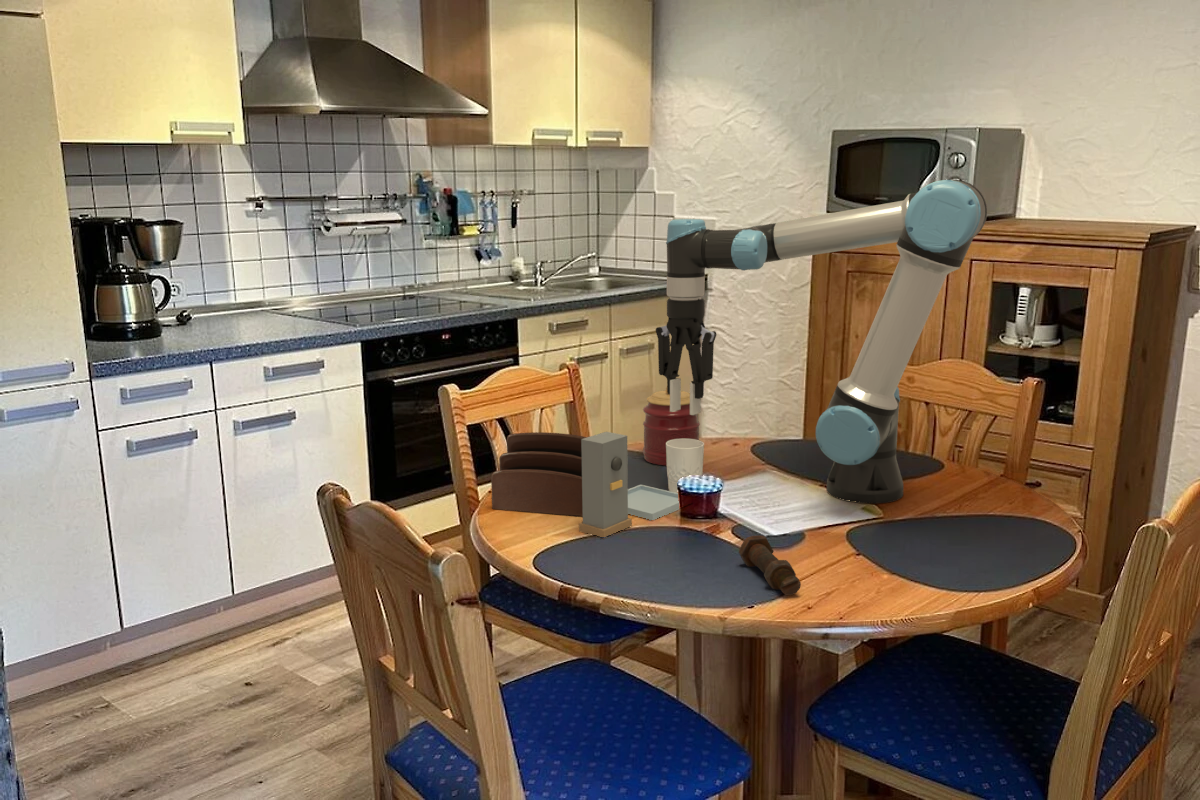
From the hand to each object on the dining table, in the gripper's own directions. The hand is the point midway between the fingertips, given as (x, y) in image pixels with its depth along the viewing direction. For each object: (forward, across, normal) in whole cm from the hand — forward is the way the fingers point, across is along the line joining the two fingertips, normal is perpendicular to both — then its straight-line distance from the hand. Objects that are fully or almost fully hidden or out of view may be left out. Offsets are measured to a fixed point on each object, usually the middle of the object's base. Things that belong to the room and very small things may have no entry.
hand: (685, 411), depth 203 cm
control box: (+17, -2, +28) cm, 33 cm away
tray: (+17, 0, +13) cm, 21 cm away
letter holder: (+17, +16, +25) cm, 34 cm away
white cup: (+17, 0, 0) cm, 17 cm away
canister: (+17, +16, -17) cm, 29 cm away
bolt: (+17, -38, +30) cm, 52 cm away
